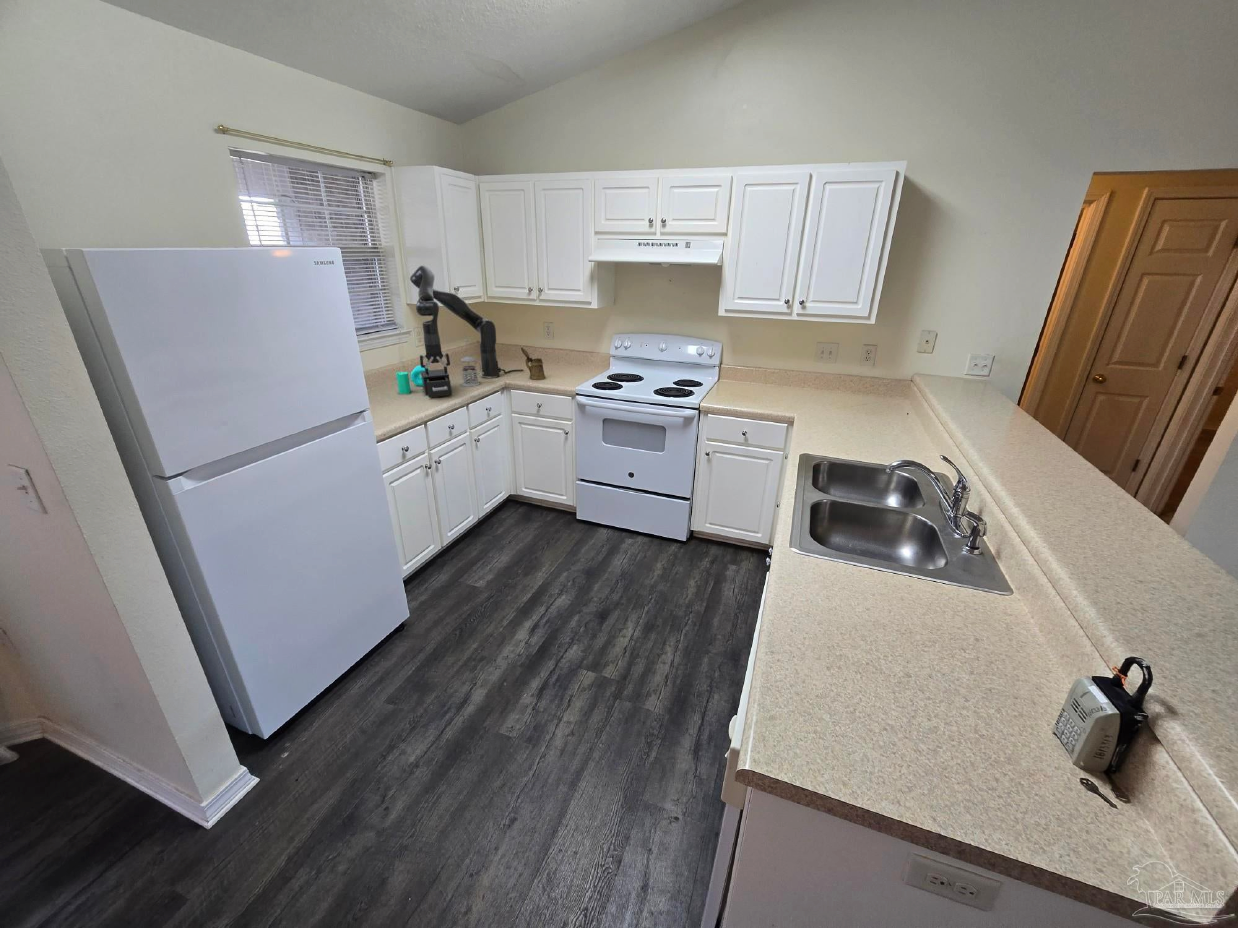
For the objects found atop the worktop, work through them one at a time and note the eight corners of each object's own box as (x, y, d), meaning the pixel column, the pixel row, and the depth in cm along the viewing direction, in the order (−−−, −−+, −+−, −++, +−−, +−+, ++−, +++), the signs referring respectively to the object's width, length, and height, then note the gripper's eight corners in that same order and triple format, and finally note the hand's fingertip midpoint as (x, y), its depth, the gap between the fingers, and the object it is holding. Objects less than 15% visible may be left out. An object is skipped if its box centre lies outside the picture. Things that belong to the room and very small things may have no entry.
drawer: (453, 397, 259) (451, 382, 256) (429, 400, 255) (427, 384, 252) (448, 389, 275) (446, 374, 272) (426, 391, 271) (423, 376, 267)
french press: (459, 383, 291) (454, 338, 281) (480, 380, 296) (475, 337, 286) (464, 386, 283) (458, 341, 273) (484, 384, 288) (480, 339, 279)
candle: (396, 393, 270) (392, 370, 265) (404, 390, 275) (401, 368, 271) (405, 394, 268) (401, 371, 263) (413, 391, 273) (410, 369, 269)
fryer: (451, 392, 272) (448, 374, 268) (425, 395, 267) (423, 376, 263) (447, 386, 284) (445, 369, 280) (423, 388, 279) (420, 371, 275)
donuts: (411, 386, 283) (408, 369, 279) (414, 382, 292) (411, 365, 288) (430, 386, 284) (427, 368, 281) (432, 381, 294) (430, 364, 290)
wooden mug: (524, 376, 308) (522, 345, 301) (546, 376, 307) (545, 346, 300) (520, 379, 300) (518, 348, 293) (543, 380, 299) (541, 349, 292)
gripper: (417, 344, 249) (422, 377, 255) (448, 342, 254) (452, 375, 261) (416, 342, 255) (421, 374, 262) (446, 340, 261) (450, 371, 267)
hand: (436, 374), depth 261 cm, fingers open, 8 cm apart
